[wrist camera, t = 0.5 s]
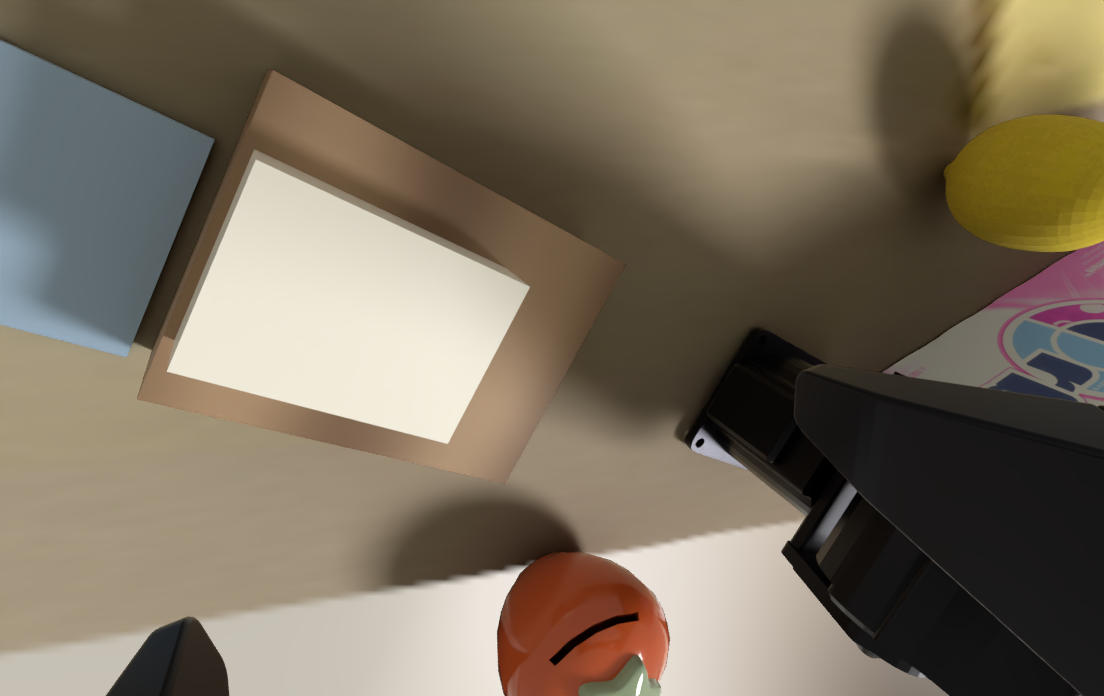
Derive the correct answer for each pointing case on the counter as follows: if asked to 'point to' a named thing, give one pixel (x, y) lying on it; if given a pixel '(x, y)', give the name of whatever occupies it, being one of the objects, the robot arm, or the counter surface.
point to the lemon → (1032, 184)
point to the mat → (85, 202)
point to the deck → (445, 210)
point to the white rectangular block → (343, 307)
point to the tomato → (581, 631)
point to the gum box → (1029, 337)
